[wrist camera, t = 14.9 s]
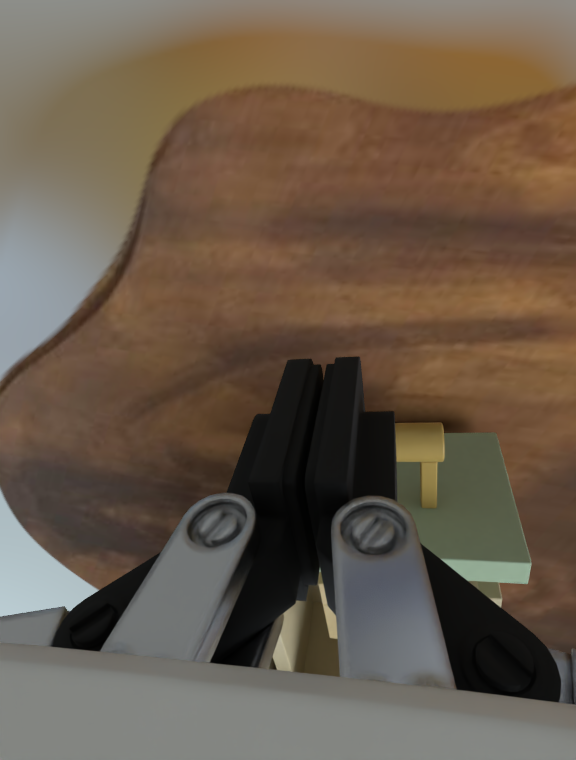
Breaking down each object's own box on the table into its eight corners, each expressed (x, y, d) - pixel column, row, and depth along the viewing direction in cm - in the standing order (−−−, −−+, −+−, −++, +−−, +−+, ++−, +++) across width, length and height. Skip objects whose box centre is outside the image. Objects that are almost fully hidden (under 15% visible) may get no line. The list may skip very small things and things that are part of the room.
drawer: (237, 370, 22) (188, 477, 17) (503, 358, 20) (547, 481, 14) (294, 590, 32) (274, 705, 26) (479, 603, 29) (500, 734, 24)
